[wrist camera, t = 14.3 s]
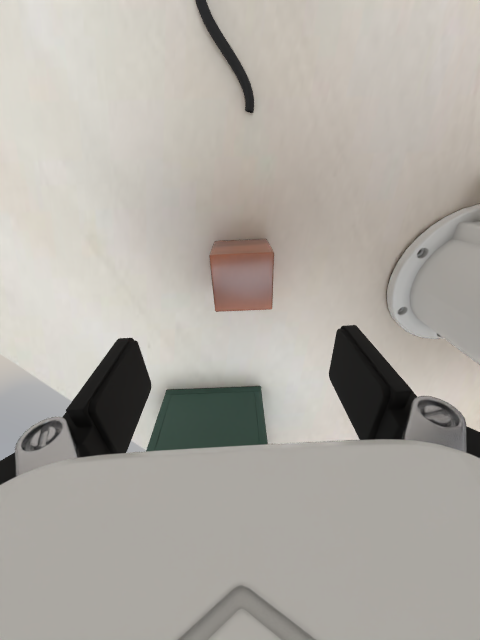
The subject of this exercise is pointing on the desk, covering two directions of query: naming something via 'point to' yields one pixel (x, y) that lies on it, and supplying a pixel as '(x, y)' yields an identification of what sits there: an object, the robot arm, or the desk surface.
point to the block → (242, 275)
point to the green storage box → (209, 419)
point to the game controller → (227, 53)
